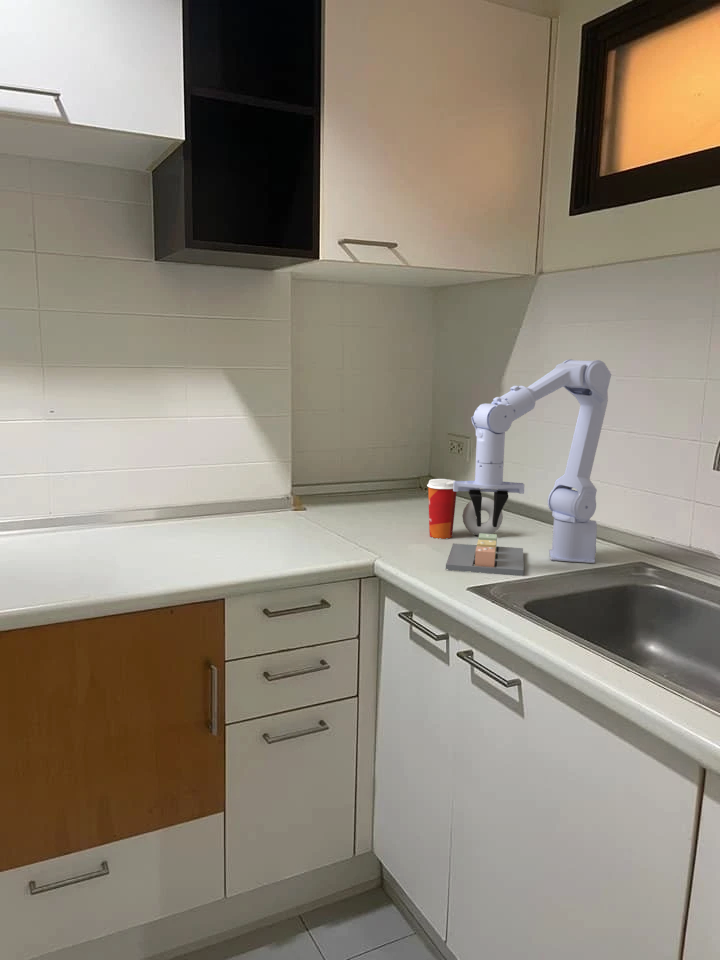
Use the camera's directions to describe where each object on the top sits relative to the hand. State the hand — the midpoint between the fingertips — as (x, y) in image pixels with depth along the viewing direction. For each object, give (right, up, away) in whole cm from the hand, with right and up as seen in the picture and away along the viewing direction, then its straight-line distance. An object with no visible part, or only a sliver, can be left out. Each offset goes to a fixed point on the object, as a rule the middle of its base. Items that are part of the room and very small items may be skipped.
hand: (486, 525), depth 157 cm
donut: (+4, -5, +30) cm, 31 cm away
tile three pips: (0, -8, +1) cm, 8 cm away
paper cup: (-7, -5, +29) cm, 30 cm away
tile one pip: (+2, -6, +13) cm, 15 cm away
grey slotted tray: (+1, -8, +7) cm, 11 cm away
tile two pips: (+1, -7, +7) cm, 10 cm away
